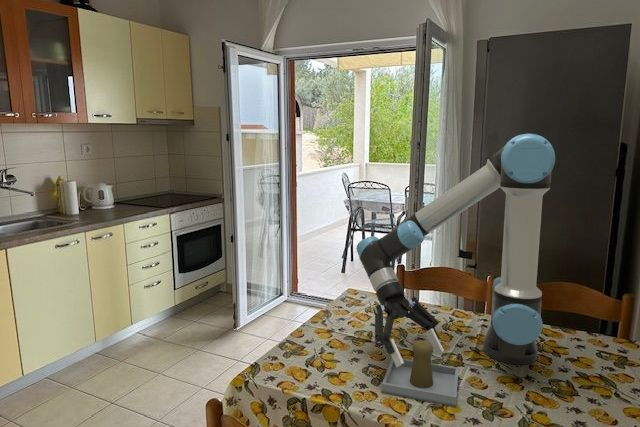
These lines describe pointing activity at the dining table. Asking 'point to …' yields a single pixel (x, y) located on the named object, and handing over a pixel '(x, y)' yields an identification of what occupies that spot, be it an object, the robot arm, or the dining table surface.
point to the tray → (437, 393)
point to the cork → (422, 365)
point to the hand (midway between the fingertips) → (420, 359)
